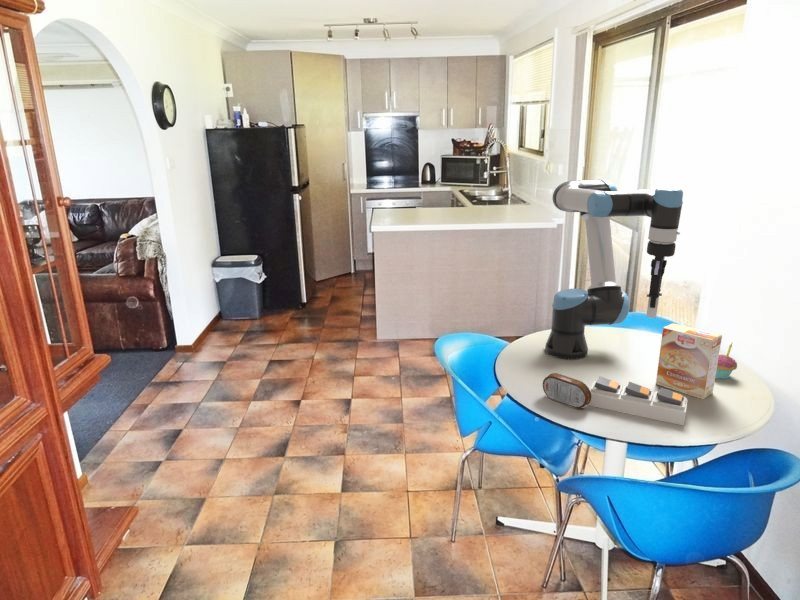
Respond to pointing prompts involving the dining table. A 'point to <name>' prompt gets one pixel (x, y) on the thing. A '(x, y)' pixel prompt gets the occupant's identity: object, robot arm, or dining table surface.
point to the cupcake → (725, 365)
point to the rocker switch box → (638, 405)
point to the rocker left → (606, 385)
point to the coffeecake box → (688, 360)
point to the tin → (566, 390)
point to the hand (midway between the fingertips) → (651, 316)
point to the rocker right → (669, 397)
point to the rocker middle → (637, 390)
